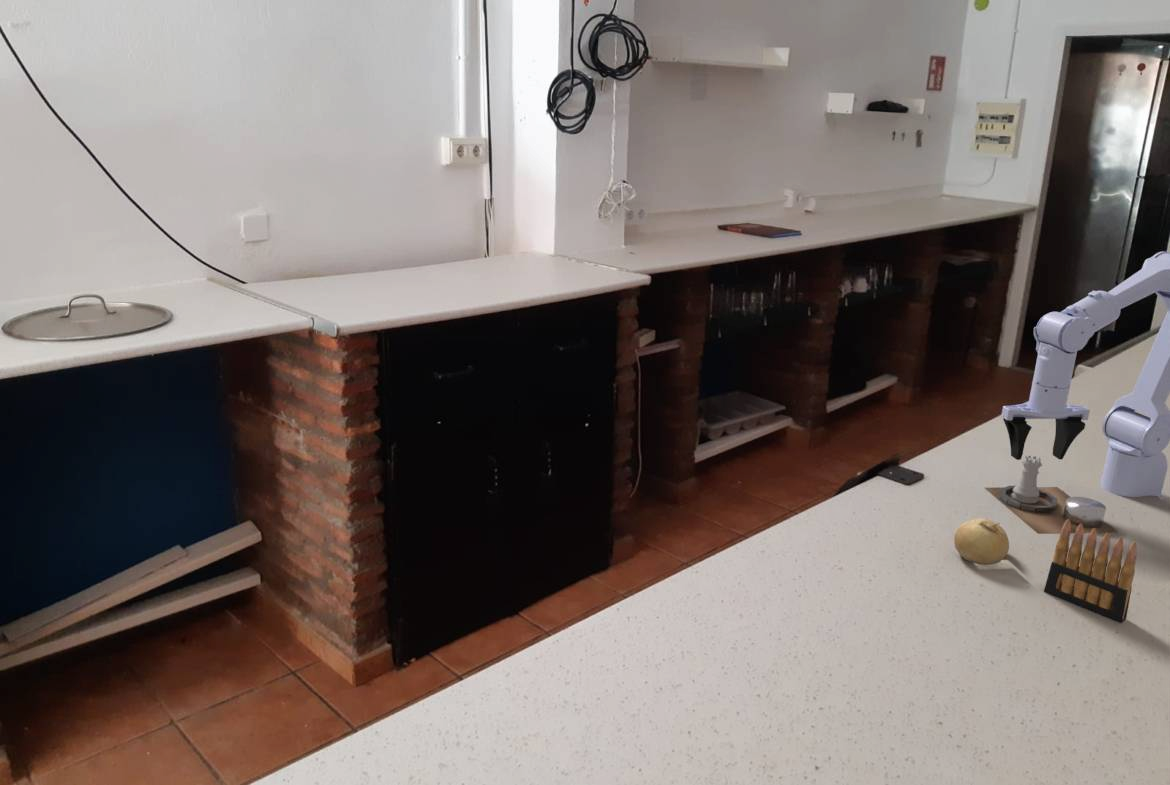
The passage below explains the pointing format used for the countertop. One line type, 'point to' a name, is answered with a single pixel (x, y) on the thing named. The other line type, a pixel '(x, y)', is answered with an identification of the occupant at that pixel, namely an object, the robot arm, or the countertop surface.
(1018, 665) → the countertop surface
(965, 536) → the onion
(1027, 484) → the rook chess piece
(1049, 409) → the robot arm
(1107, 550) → the ammunition clip
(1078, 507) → the silver metal dome
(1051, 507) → the socket ring
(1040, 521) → the carrier board
